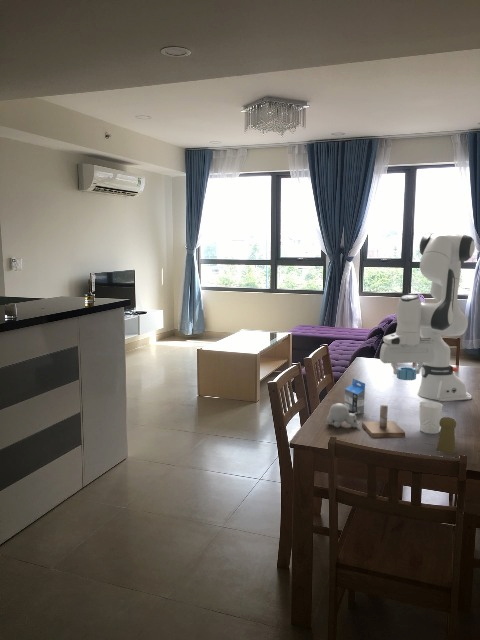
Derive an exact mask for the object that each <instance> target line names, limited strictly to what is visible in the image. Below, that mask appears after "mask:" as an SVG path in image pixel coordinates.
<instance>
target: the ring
mask: <svg viewBox="0 0 480 640" xmlns="http://www.w3.org/2000/svg"><path fill="white" fill-rule="evenodd" d="M396 369H398V370H399V374H396V378H397V379H398V380H401V381H414V380H416V379H417V374H416V368H415V367H411V366H399V367H396Z"/></svg>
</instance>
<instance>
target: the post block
mask: <svg viewBox="0 0 480 640" xmlns="http://www.w3.org/2000/svg"><path fill="white" fill-rule="evenodd" d="M379 407H380V408H379V421H362V422H361V426H362V428H363V429H364V430H365V432H367V433H368V434H369V436H370V437H371V438H397V437H399V438H402V437H404V438H405V437H406V432H405V431H404V430H403V428H401V427H400V425H398V424H397V423H396V422H395V421H393V420H389V421H388V412H389V411H388V409H389V408H388V407H389V406H388V404H380V406H379Z"/></svg>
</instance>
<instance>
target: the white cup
mask: <svg viewBox="0 0 480 640" xmlns="http://www.w3.org/2000/svg"><path fill="white" fill-rule="evenodd" d="M418 413H419V415H418V416H419V431H421V432H423V433H425V434H433V435H434V434H438V433H440V429H441V426H440V424H439V422H440V419H441V418H442V413H443V403H440V402H437V401H432V400H423V401H419V412H418Z"/></svg>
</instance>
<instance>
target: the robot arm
mask: <svg viewBox="0 0 480 640" xmlns="http://www.w3.org/2000/svg"><path fill="white" fill-rule="evenodd" d="M475 248H476V246H475V240H474V238H473V237H472V236H469V235H467V234H466V235H465V234H463V235H462V234H455V233H428V234H425V235H423V236H422V237H421V239H420V242H419V252H420V255H421V259H420V262H419V270H420V273H421V274H422V276H423V277H424V278H425V279H427V280H428V281H431V287H430V295H431V297H432V298H433V299H435V301H436V303H435V302H423V301H421V297H420V296H419V295H417V294H405V295H402V296H400V297H399V299H398V302H397V309H396V323H397V325H396V329H395V332H393V333H390V334H387V335H385V336H383V337H382V341H383V343H382V344H381V347H380V351H379V360H380V361H381V363H383V364H390V366H391V367H392V369H393V374H394V375H397V374H399V370H398V369H397V367H396V366H397V364H405V363H406V364H411V363H413V364H414V363H416V364H417V366H416V368H415V369H416V375H420V372H421V380H420V385H419V389H418V392H417V395H418V396H420V397H422V398H425V399H430V400H436V401H440V402H451V401H463V400H471V399H472V394H470V393H469V392H468V391H467V386H466V383H465V382H464V381H463V380H462V379H460V378H459V376H457V375H456V374H454V373H457V372H458V370H459V368H458V367H457V366H452V365H451V363H450V362H451V347H450V345H449V344H447V342H445V341H444V339H443V338H442V336H446V337H447V336H448V337H455V336H456V337H457V336H462V335H463V334H464V333H465V332H466V331H467V329H468V327H469V326H468V325H469V320H468V318H467V316H466V315H465V314H464V313H463V311H462V310H461V307H460V304H459V301H458V295H459V294H458V293H459V292H458V291H459V286H460V285H459V284H460V280H461V273H462V272H461V271H462V270H461V269H462V268H461V267H462V265H463V264H464V263H465V262H467V261H469V260H470V259H471V258H472V257H473V255H474V253H475V250H476V249H475Z"/></svg>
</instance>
